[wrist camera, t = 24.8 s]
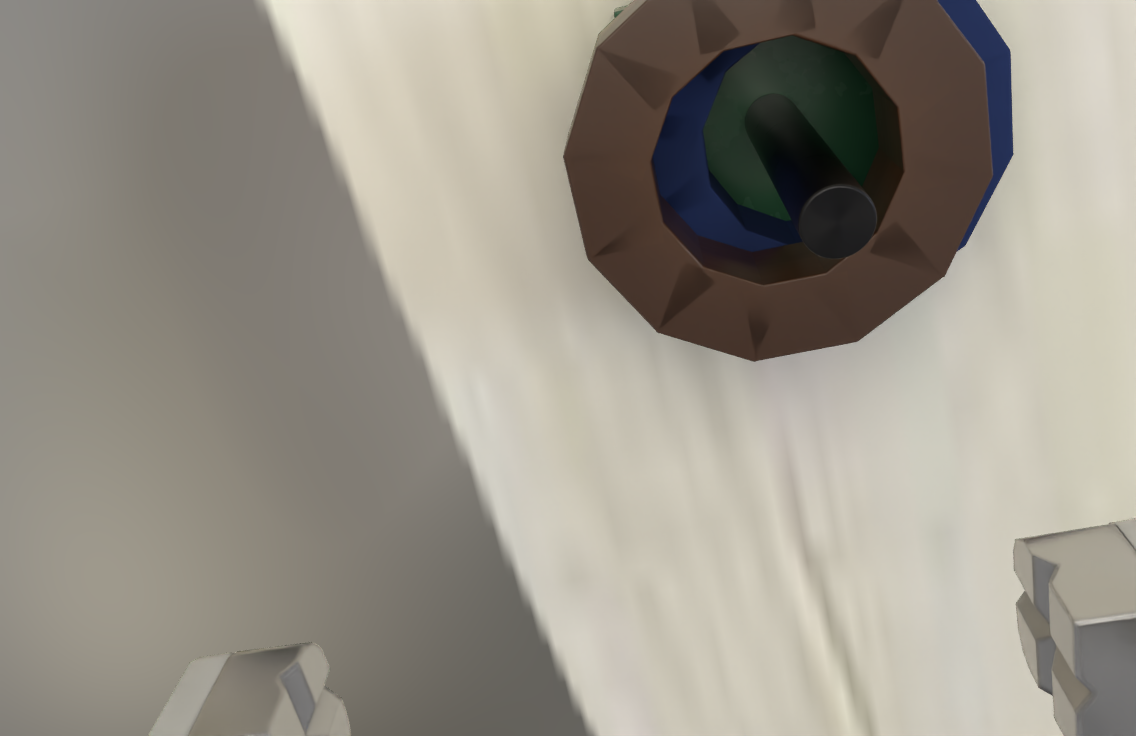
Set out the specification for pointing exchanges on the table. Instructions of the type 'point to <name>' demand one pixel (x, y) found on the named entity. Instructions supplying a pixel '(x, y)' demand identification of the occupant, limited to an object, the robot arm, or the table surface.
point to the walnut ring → (792, 272)
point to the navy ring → (752, 230)
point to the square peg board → (797, 141)
